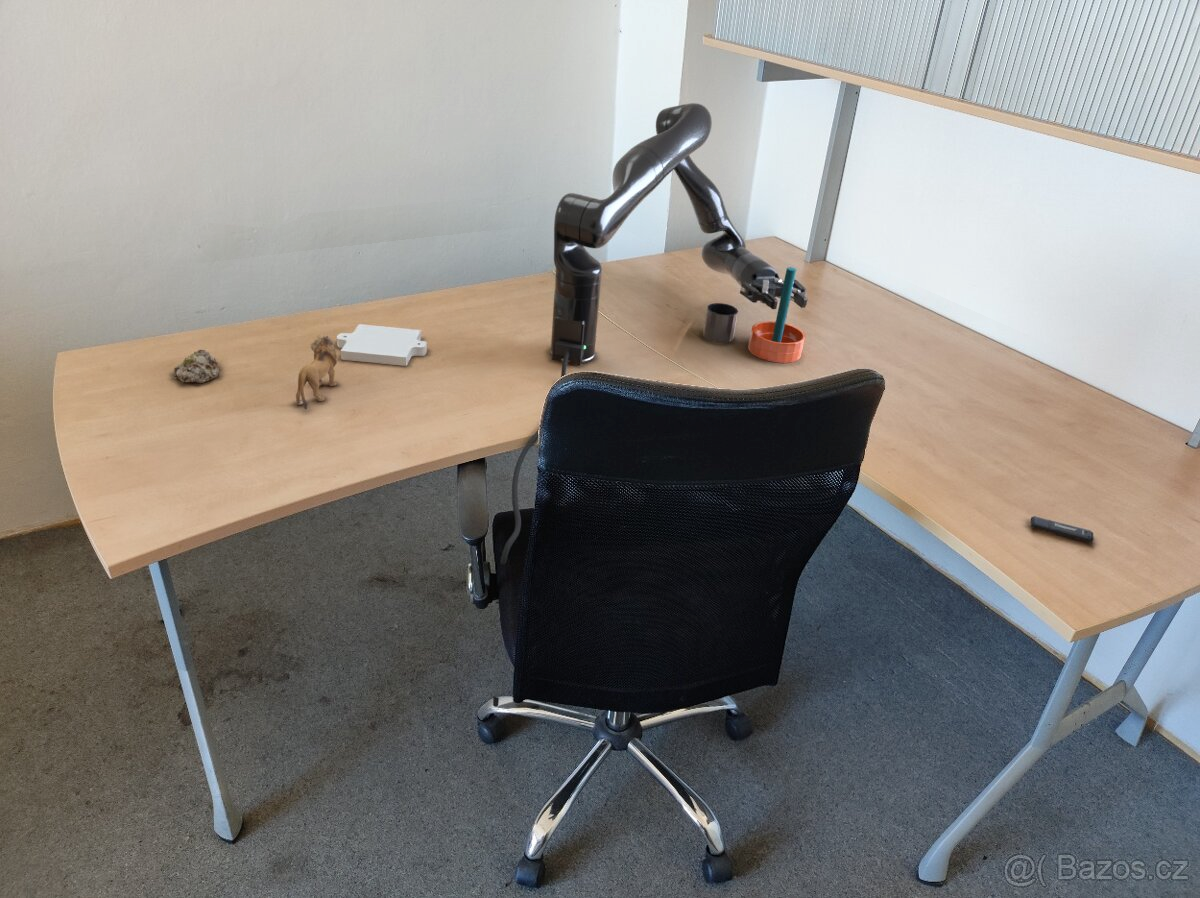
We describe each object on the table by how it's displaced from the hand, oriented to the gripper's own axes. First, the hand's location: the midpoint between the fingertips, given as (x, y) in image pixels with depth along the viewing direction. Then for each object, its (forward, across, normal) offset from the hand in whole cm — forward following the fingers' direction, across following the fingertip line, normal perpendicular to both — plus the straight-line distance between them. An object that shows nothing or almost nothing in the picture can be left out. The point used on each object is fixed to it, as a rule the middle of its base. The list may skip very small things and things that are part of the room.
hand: (790, 304), depth 187 cm
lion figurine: (0, -97, +13) cm, 97 cm away
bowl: (-2, 0, +12) cm, 13 cm away
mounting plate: (-16, -83, +13) cm, 85 cm away
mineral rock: (-11, -117, +13) cm, 118 cm away
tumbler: (-11, -10, +12) cm, 19 cm away
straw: (-2, 0, +12) cm, 12 cm away
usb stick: (+67, +16, +13) cm, 70 cm away
